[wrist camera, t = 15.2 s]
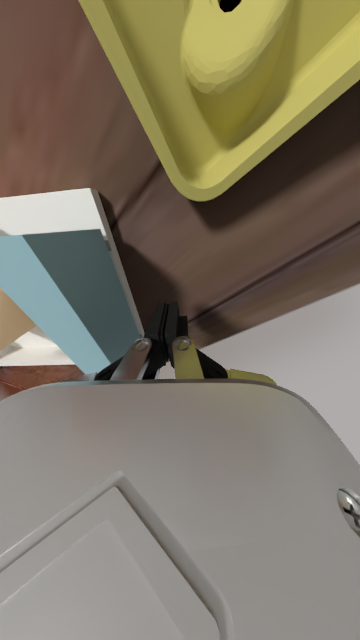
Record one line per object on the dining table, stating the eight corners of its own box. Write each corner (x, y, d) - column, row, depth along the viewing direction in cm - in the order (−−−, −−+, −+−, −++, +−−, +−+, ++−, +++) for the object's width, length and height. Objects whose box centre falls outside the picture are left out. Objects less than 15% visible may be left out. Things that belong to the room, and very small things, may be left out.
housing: (97, 190, 10) (62, 178, 7) (149, 347, 21) (143, 366, 18) (-146, 217, 11) (-258, 216, 8) (24, 351, 22) (0, 370, 19)
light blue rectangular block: (100, 228, 10) (21, 234, 5) (143, 345, 18) (128, 389, 13) (63, 232, 10) (-46, 240, 5) (122, 346, 18) (101, 390, 13)
